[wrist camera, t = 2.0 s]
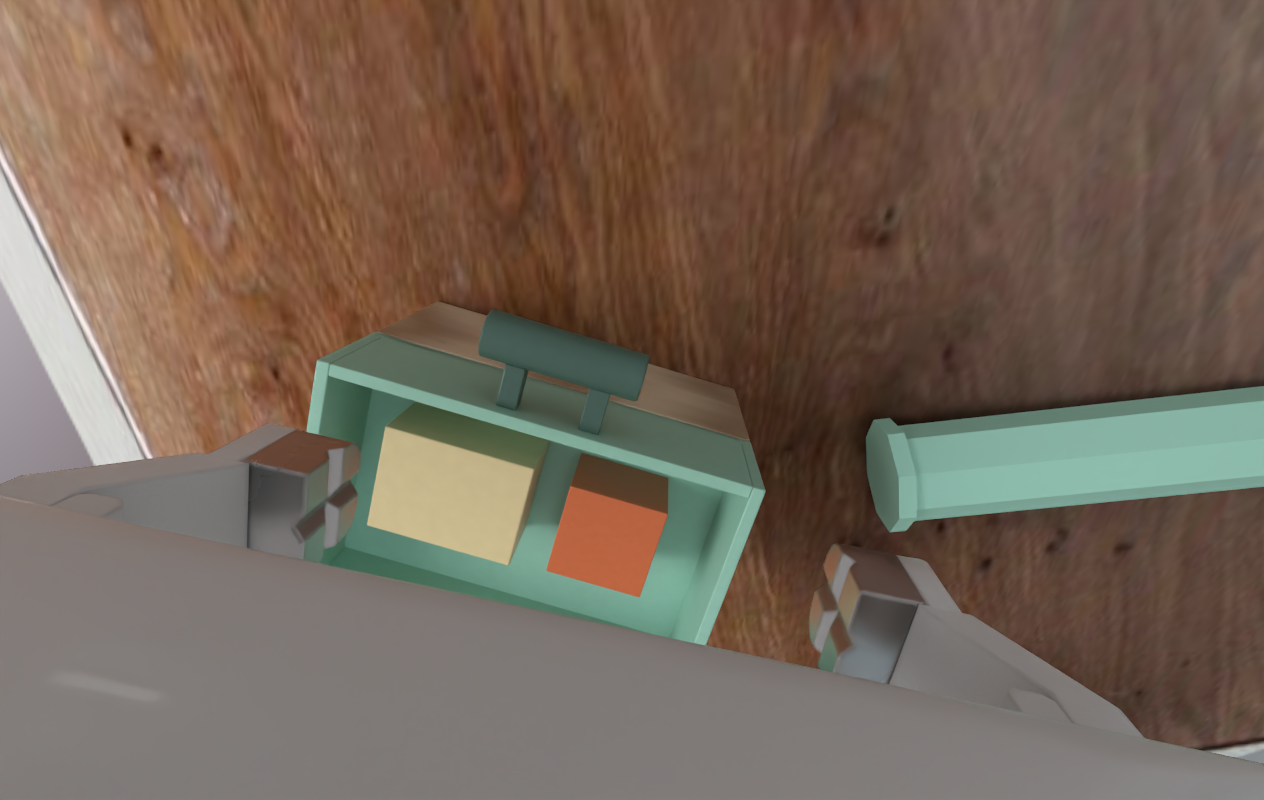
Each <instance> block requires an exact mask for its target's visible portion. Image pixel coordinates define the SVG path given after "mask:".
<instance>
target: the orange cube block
mask: <svg viewBox="0 0 1264 800" xmlns="http://www.w3.org/2000/svg"><path fill="white" fill-rule="evenodd" d="M668 485H669V479H668V478H667V477H663V476H660V475H656V474H653V473H649V472H646V471H642V470H639V469H636V468H632V467H629V466H625V465H622V464H618V463H615V462H612V461H608V460H605V459H601V458H598V457H594V456H591V455H588V454H584V453H582V454H581V456H580V459H579V462H578V465H577V468H576V471H575V474H574V477H573V480H572V483H571V486H570V489H569V492H568V496H567V499H566V503H565V506H564V510H563V513H562V517H561V520H560V524H559V527H558V531H557V534H556V538H555V541H554V545H553V548H552V551H551V555H550V558H549V562H548V565H547V569H546V571H548V572H551V573H555V574H558V575H562V576H565V577H569V578H572V579H576V580H579V581H583V582H586V583H590V584H593V585H597V586H600V587H604V588H607V589H611V590H615V591H618V592H622V593H625V594H629V595H632V596H636V597H640V595H641V592H642V590H643V587H644V584H645V581H646V578H647V575H648V572H649V569H650V566H651V563H652V560H653V557H654V555H655V552H656V549H657V546H658V543H659V540H660V537H661V534H662V531H663V528H664V525H665V523H666V520H667V517H668Z"/></svg>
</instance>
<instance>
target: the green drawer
mask: <svg viewBox="0 0 1264 800" xmlns="http://www.w3.org/2000/svg"><path fill="white" fill-rule="evenodd" d="M478 352H479V355H480V356H481V357H485V358H488V359H492V360H495V361H498V362H502V363H505V367H504V370H503V369H499V368H496V367H492V366H489V365H486V364H482V363H479V362H475V361H472V360H469V359H465V358H462V357H458V356H455V355H452V354H448V353H445V352H441V351H438V350H435V349H431V348H428V347H424V346H421V345H418V344H414V343H411V342H407V341H404V340H401V339H397V338H394V337H390V336H387V335H384V334H380V333H377V332H374V333H372V334H370V335H368V336H366V337H364V338H362V339H360V340H358V341H356V342H353V343H351V344H349V345H347V346H345V347H343V348H341V349H339V350H337V351H335V352H333V353H331V354H329V355H327V356H324V357H322V358H320V359H318V360H317V363H316V370H315V377H314V384H313V390H312V397H311V404H310V411H309V418H308V424H307V431H306V432H309V433H314V434H318V435H323V436H327V437H331V438H336V439H340V440H345V441H349V442H353V443H357V444H358V446H359V449H360V451H361V457H360V470H359V471H358V472H357V473H356V474H355V475H354V476H353V477H352V478H351V479H350V480H351V482H352V484H353V486H354V487H355V489H356V491H357V493H358V500H357V508H356V512H355V516H354V520H353V523H352V525H351V527H350V529H349V531H348V533H347V535H346V536H345V537H344V538H343V539H342V541H341V542H340V543H339V544H338V545H336V546H333V547H330V548H326V549H324V554H323V560H322V561H321V562H320V564H325V565H329V566H334V567H339V568H344V569H348V570H353V571H358V572H362V573H367V574H372V575H376V576H381V577H386V578H391V579H395V580H400V581H405V582H409V583H414V584H419V585H424V586H428V587H433V588H438V589H442V590H447V591H452V592H457V593H461V594H466V595H471V596H475V597H480V598H485V599H490V600H494V601H499V602H504V603H508V604H513V605H518V606H523V607H527V608H532V609H537V610H541V611H546V612H551V613H555V614H560V615H565V616H570V617H574V618H579V619H584V620H588V621H593V622H598V623H603V624H607V625H612V626H617V627H621V628H626V629H631V630H636V631H640V632H645V633H650V634H654V635H659V636H664V637H669V638H673V639H678V640H683V641H687V642H692V643H697V644H702V645H706V644H707V641H708V638H709V636H710V633H711V631H712V628H713V626H714V623H715V620H716V618H717V615H718V613H719V610H720V608H721V605H722V602H723V600H724V597H725V595H726V592H727V590H728V587H729V584H730V582H731V579H732V577H733V574H734V572H735V569H736V567H737V564H738V561H739V559H740V556H741V554H742V551H743V549H744V546H745V543H746V541H747V538H748V536H749V533H750V531H751V528H752V525H753V523H754V520H755V518H756V515H757V513H758V510H759V507H760V505H761V502H762V500H763V497H764V495H765V492H766V491H765V487H764V484H763V481H762V478H761V474H760V471H759V468H758V465H757V462H756V458H755V455H754V452H753V449H752V445H751V443H750V442H747V441H744V440H740V439H737V438H734V437H730V436H727V435H723V434H720V433H717V432H713V431H710V430H706V429H703V428H700V427H696V426H693V425H689V424H686V423H683V422H679V421H676V420H672V419H669V418H666V417H662V416H659V415H655V414H652V413H649V412H645V411H642V410H638V409H635V408H632V407H628V406H625V405H621V404H618V403H615V402H611V401H609V398H610V395H614V396H617V397H621V398H624V399H627V400H631V401H634V402H635V401H637V400H638V397H639V394H640V391H641V388H642V385H643V382H644V378H645V375H646V371H647V368H648V364H649V360H650V356H649V355H648V354H644V353H641V352H638V351H634V350H631V349H628V348H624V347H621V346H618V345H614V344H611V343H607V342H604V341H601V340H597V339H594V338H591V337H587V336H584V335H580V334H577V333H574V332H570V331H567V330H564V329H560V328H557V327H554V326H550V325H547V324H543V323H540V322H537V321H533V320H530V319H527V318H523V317H520V316H517V315H513V314H510V313H506V312H503V311H500V310H496V309H492V310H491V311H490V312H489V314H488V315H487V317H486V319H485V322H484V325H483V327H482V331H481V334H480V339H479V345H478ZM528 371H532V372H536V373H539V374H543V375H546V376H549V377H553V378H556V379H559V380H563V381H566V382H570V383H573V384H576V385H580V386H583V387H587V388H589V392H588V395H587V394H584V393H581V392H577V391H574V390H570V389H567V388H564V387H560V386H557V385H553V384H550V383H547V382H543V381H540V380H537V379H533V378H530V377H527V375H528ZM414 402H420V403H423V404H426V405H430V406H433V407H437V408H440V409H444V410H447V411H450V412H454V413H457V414H461V415H464V416H468V417H471V418H474V419H478V420H481V421H485V422H488V423H492V424H495V425H498V426H502V427H505V428H509V429H512V430H516V431H519V432H522V433H526V434H529V435H533V436H536V437H540V438H543V439H546V440H549V444H548V447H547V451H546V455H545V459H544V462H543V466H542V470H541V473H540V477H539V481H538V484H537V488H536V492H535V496H534V499H533V503H532V507H531V510H530V514H529V518H528V521H527V525H526V527H525V530H524V532H523V534H522V537H521V539H520V541H519V544H518V546H517V548H516V551H515V553H514V555H513V557H512V560H511V562H510V564H509V565H505V564H501V563H498V562H494V561H491V560H487V559H484V558H480V557H477V556H473V555H470V554H466V553H463V552H459V551H455V550H452V549H448V548H445V547H441V546H438V545H434V544H431V543H427V542H424V541H420V540H417V539H413V538H410V537H406V536H403V535H399V534H396V533H392V532H389V531H385V530H382V529H378V528H375V527H371V526H368V525H367V522H368V517H369V511H370V506H371V501H372V495H373V490H374V484H375V479H376V474H377V468H378V463H379V458H380V452H381V447H382V441H383V436H384V431H385V427H386V426H387V425H388V424H389V423H390V422H391V421H393V420H394V419H395V418H396V417H398V416H399V415H400V414H401V413H402V412H404V411H405V410H406V409H407V408H408V407H410V406H411V405H412V404H413V403H414ZM582 453H584V454H588V455H591V456H594V457H598V458H601V459H605V460H608V461H612V462H615V463H618V464H622V465H625V466H629V467H632V468H636V469H639V470H642V471H646V472H649V473H653V474H656V475H660V476H663V477H667V478H668V479H669V485H668V517H667V520H666V523H665V525H664V528H663V531H662V534H661V537H660V540H659V543H658V546H657V549H656V552H655V555H654V557H653V560H652V563H651V566H650V569H649V572H648V575H647V578H646V581H645V584H644V587H643V590H642V592H641V595H640V597H636V596H632V595H629V594H625V593H622V592H618V591H615V590H611V589H607V588H604V587H600V586H597V585H593V584H590V583H586V582H583V581H579V580H576V579H572V578H569V577H565V576H562V575H558V574H555V573H551V572H548V571H546V569H547V565H548V562H549V558H550V555H551V551H552V548H553V545H554V541H555V538H556V534H557V531H558V527H559V524H560V520H561V517H562V513H563V510H564V506H565V503H566V499H567V496H568V492H569V489H570V486H571V483H572V480H573V477H574V474H575V471H576V468H577V465H578V462H579V459H580V456H581V454H582Z"/></svg>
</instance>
